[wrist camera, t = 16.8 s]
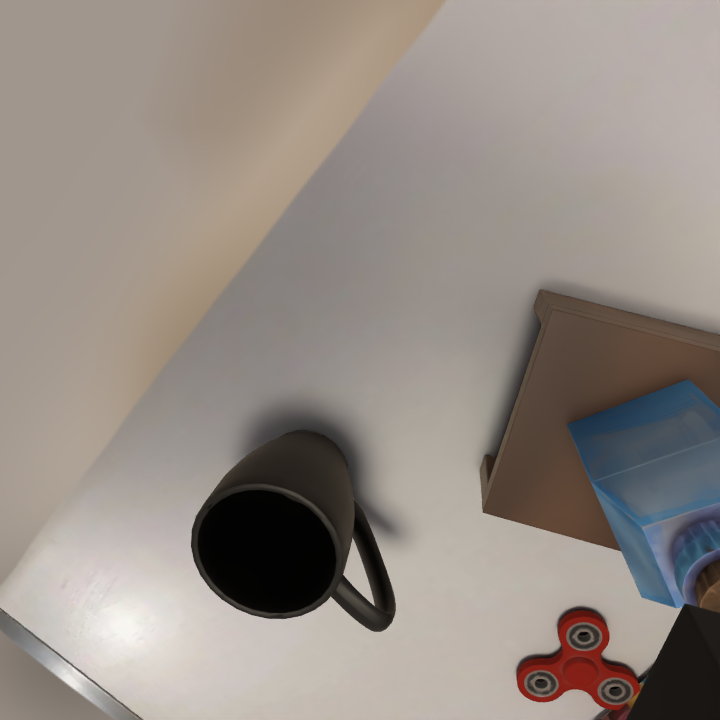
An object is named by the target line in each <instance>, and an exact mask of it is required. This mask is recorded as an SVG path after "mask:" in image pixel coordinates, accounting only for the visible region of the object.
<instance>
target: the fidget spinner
mask: <svg viewBox="0 0 720 720" xmlns="http://www.w3.org/2000/svg"><path fill="white" fill-rule="evenodd" d="M582 631H585V632H588V634H587V635H585V636H580V635H578V634H579V633H580V632H582ZM558 636H559V640H560V643H561V645H562V649H561V651H560V652H559V654H557V655H556V656H554V657H552V658H548V659H543V658H535V659H531V660H528V661H526V662H524V663H523V664H522V665H521V666H520V667H519V669H518V671H517V685H518V688H519V690H520V692H521V693H522V694H523V695H524V696H525V697H526V698H528V699H530V700H532V701H536V702H549V701H553V700H555V699H557V698H558V697H560V696H561V695H562V694H563V693H564V692H566V691H568V690H572V689H579V690H583V691H585V692H587V693H589V694H590V695H591V696H592V698H593V699H594V701H595V702H596V703H597V704H599V705H600V706H601V707H604V708H606V709H610V710H619V709H621V708H622V707H623V706H624V705H625V704H626V703H627V702H628V701H629V700H631V699H632V698H633V697H634V696H635V695H636V694H637V693H638V692H639V691H640V690H641V689H640V686H639V683H638V680H637V678H636V676H635V675H634V674H633V673H632V672H631V671H630V670H628V669H626V668H624V667H620V666H615V665H610V664H607V663H606V662H604V661H603V660H602V659H601V653H602V651H603V650H604V649H605V648H606V646H607V645H608V643H609V639H610V637H609V631H608V628H607V625H606V623H605V621H604V620H603V619H602V618H601V617H600V616H599V615H597V614H595V613H593V612H590V611H575V612H571V613H569V614H567V615H566V616H564V617H563V618H562V619H561V621H560V622H559V625H558ZM537 679H545V681H544V682H537V681H536V680H537ZM613 686H617V687H619V688H618V689H615V690H612V689H610V688H611V687H613Z"/></svg>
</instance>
